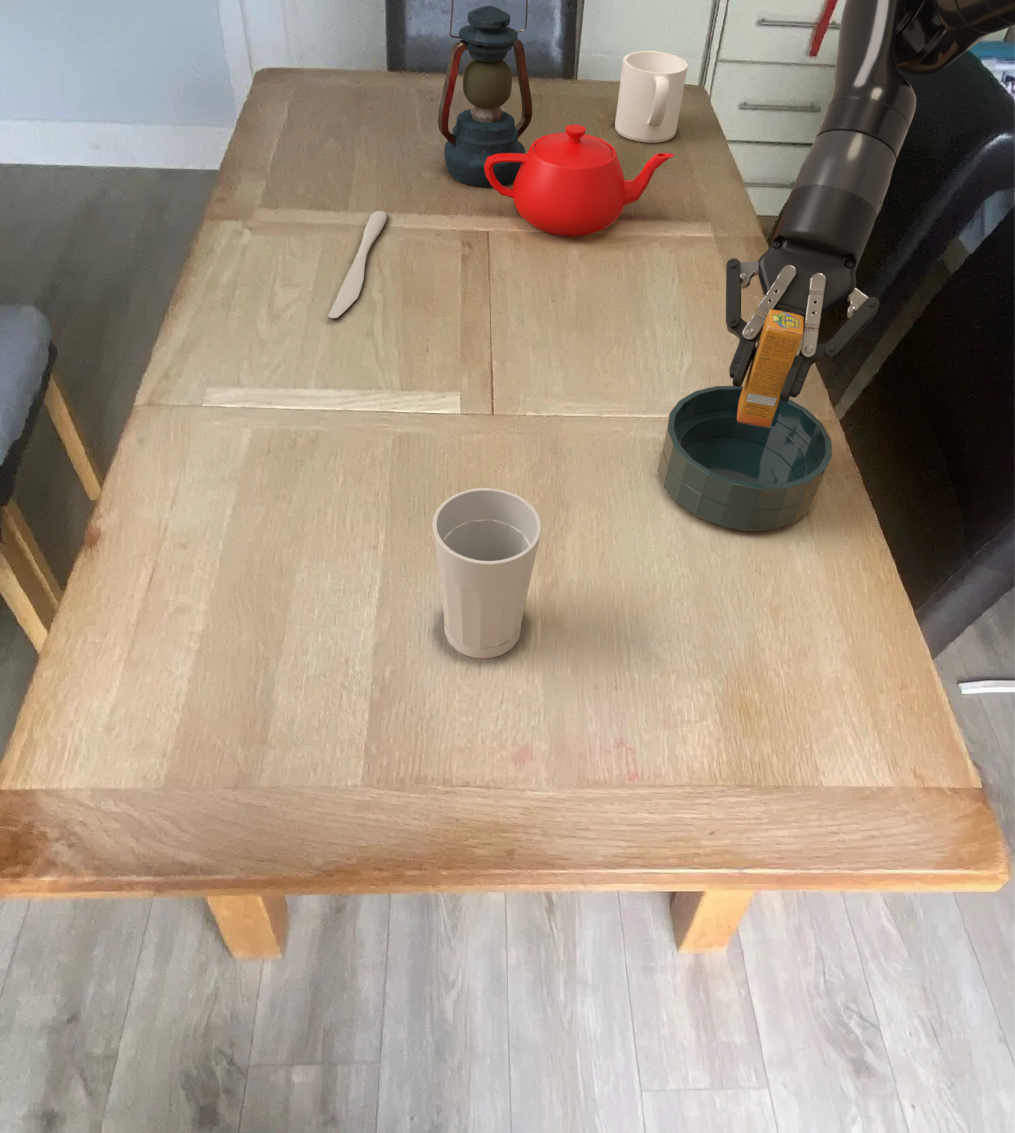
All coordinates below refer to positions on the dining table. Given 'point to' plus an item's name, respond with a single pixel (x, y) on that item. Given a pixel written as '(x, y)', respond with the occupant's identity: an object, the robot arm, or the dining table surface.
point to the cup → (485, 567)
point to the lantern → (485, 98)
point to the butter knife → (358, 266)
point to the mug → (650, 96)
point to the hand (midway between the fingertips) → (760, 391)
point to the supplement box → (770, 368)
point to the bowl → (742, 461)
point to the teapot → (571, 182)
